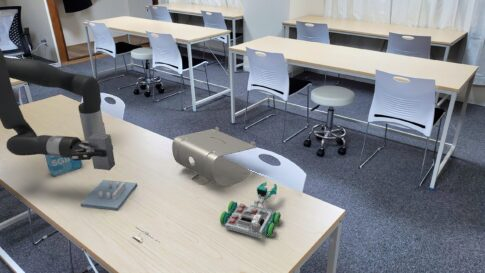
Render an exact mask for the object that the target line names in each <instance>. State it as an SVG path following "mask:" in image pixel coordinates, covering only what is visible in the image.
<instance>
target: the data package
mask: <svg viewBox="0 0 485 273" xmlns="http://www.w3.org/2000/svg"><path fill="white" fill-rule="evenodd" d="M44 157H45V160H46V161H45V162H46V164H47V170H48V171H49V172H50V174H51V175H52V176H53V177H58V176H61V175H63V174H66V173H70V172H72V171H75V170H78V169H81V167H82V166H83V163H82V161H83V160H76V161H73V158H66V157H56V156H52V155H44Z"/></svg>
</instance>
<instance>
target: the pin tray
mask: <svg viewBox="0 0 485 273" xmlns="http://www.w3.org/2000/svg"><path fill="white" fill-rule="evenodd" d="M137 187H138V183H137V182H129V181H119V180H110V179H102V180H101V182H100V183H99V184H98V185H97V186H95V187H94V189H93V190H92V191H91V192H90V193H89V194H88V195H87V196H86V197H85V198H84V199H83V200H82V201H81V202H80V207H82V208H83V207H84V208H90V209H98V210H99V209H100V210H110V211H116V212H117V211H119V210H120V208H122V206H123V205H124V203H125V202H126V201H127V199H128V198H129V197H130V196H131V194H132V193H134V191H135V189H136V188H137Z"/></svg>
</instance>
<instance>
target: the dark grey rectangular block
mask: <svg viewBox="0 0 485 273" xmlns="http://www.w3.org/2000/svg"><path fill="white" fill-rule="evenodd" d="M88 140H89V145H90V149H94V150H103V151H106V154H107V156H106V157H98V156H96V157H91V161H92V166H93V169H94V170H103V171H111V170H112V169H113V167H115V166H116V162H115V157H114V156H115V154H114V147H113V148H112V145H113V142H112V137H111V134H110V133H109V134H108V133H106V134H98V133H94V134H93V135H91V136H90V137H89V138H88Z"/></svg>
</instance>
